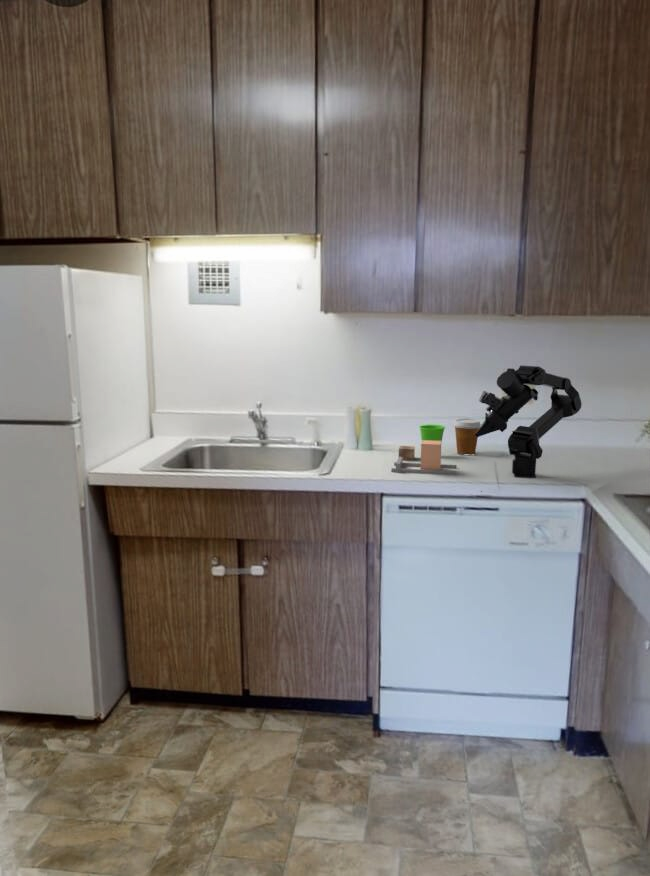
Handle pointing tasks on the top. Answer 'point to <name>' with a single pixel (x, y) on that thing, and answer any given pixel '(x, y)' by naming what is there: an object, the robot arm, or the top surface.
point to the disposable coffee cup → (466, 435)
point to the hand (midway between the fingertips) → (475, 435)
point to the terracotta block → (430, 455)
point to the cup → (432, 432)
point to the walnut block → (407, 452)
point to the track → (400, 464)
